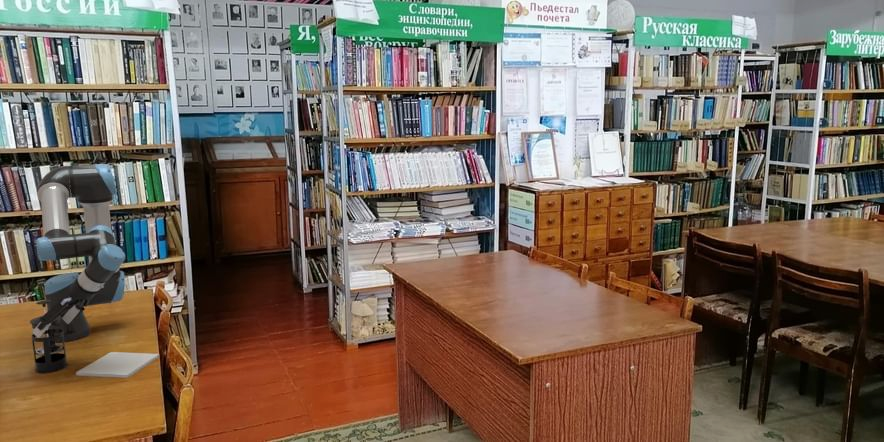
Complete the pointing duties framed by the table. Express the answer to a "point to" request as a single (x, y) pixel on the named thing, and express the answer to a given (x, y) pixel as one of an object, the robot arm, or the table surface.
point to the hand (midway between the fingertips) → (51, 327)
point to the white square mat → (118, 364)
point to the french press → (49, 347)
